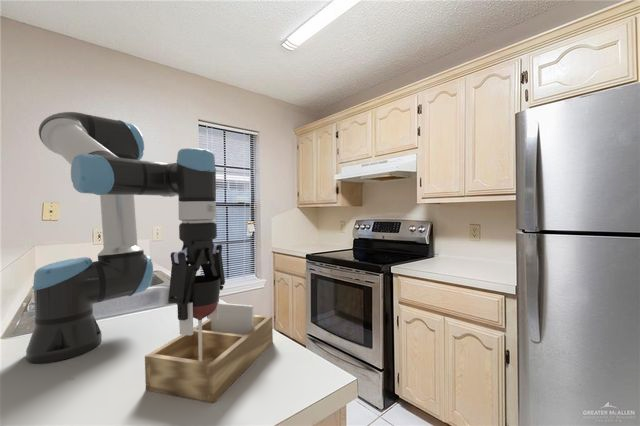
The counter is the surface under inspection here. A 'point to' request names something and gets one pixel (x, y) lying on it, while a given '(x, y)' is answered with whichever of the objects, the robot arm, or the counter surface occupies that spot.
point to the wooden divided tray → (205, 361)
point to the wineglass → (204, 302)
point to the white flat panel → (234, 319)
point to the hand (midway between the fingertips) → (200, 325)
